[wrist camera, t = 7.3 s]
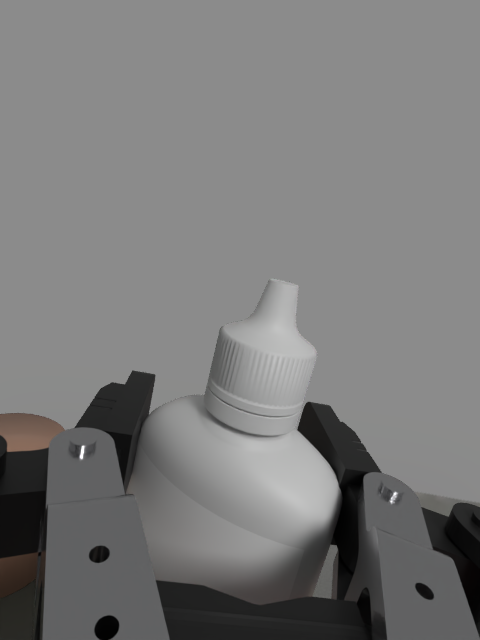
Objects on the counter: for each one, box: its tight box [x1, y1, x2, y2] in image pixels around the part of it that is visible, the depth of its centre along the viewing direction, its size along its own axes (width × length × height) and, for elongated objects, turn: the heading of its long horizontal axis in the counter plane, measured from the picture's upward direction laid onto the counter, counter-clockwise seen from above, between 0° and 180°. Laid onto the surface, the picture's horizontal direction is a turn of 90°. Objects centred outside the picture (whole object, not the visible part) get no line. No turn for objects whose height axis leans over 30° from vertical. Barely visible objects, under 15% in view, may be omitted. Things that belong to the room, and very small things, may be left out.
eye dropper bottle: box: [126, 279, 343, 605], centre depth 10 cm, size 4×6×12 cm
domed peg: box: [0, 413, 65, 598], centre depth 20 cm, size 6×6×7 cm
